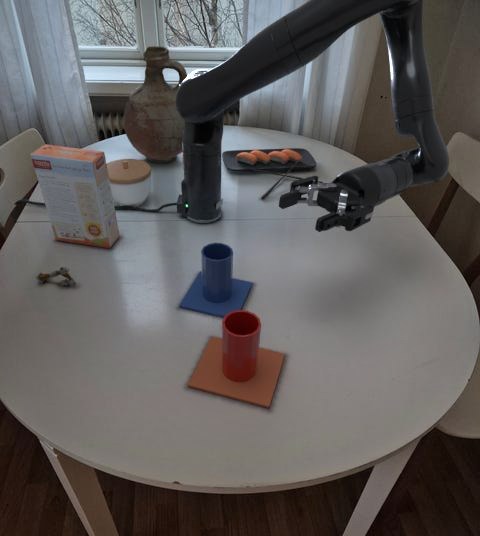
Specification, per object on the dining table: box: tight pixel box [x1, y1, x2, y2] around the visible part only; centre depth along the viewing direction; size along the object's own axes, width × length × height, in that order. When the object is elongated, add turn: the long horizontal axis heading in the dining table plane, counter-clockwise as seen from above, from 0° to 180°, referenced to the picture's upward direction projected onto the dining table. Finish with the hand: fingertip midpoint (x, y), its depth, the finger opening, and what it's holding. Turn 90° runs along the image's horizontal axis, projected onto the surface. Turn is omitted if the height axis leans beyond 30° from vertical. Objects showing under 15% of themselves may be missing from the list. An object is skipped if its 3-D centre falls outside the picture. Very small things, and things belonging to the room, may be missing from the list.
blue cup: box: [200, 242, 234, 303], centre depth 86 cm, size 6×6×11 cm
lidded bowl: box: [106, 158, 152, 207], centre depth 113 cm, size 13×13×11 cm
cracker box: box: [29, 143, 120, 249], centre depth 96 cm, size 14×6×21 cm, turn 77°
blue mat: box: [178, 270, 254, 319], centre depth 89 cm, size 12×12×1 cm
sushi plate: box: [221, 147, 324, 200], centre depth 131 cm, size 29×30×4 cm
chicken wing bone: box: [35, 266, 77, 287], centre depth 89 cm, size 2×8×4 cm, turn 79°
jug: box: [122, 45, 188, 163], centre depth 128 cm, size 22×22×30 cm
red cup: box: [221, 309, 262, 382], centre depth 71 cm, size 6×6×11 cm
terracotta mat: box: [187, 335, 286, 409], centre depth 75 cm, size 14×12×1 cm
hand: (298, 214), depth 68 cm, fingers open, 8 cm apart
